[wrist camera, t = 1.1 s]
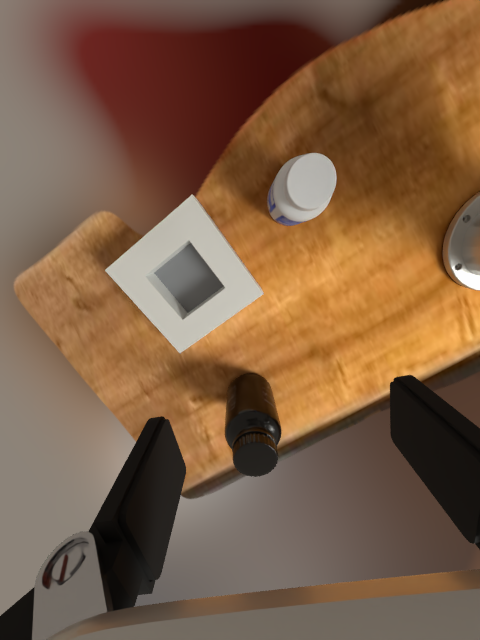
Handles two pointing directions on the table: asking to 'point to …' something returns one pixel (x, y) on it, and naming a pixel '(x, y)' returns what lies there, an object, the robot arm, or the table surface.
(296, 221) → the pill bottle
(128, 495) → the robot arm
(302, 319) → the table surface
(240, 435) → the supplement bottle
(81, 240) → the table surface
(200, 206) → the housing
